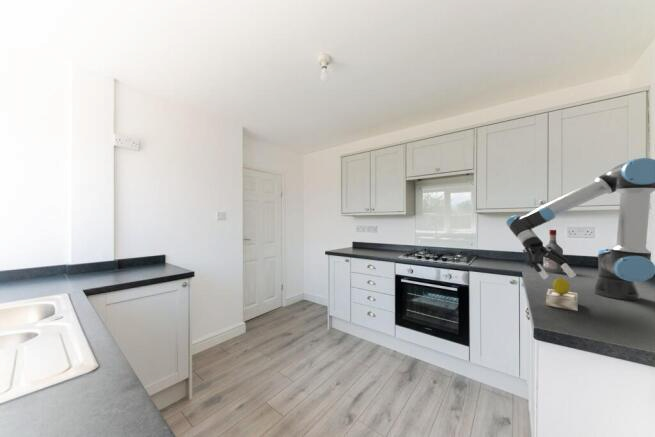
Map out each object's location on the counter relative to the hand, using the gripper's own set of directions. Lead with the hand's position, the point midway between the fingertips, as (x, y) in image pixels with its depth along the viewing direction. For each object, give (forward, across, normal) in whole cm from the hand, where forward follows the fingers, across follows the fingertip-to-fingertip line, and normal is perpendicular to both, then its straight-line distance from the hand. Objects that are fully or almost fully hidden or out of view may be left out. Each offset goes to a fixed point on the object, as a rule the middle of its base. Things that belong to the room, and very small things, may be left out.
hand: (560, 277), depth 115 cm
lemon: (+6, 0, -6) cm, 8 cm away
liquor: (-34, -63, -52) cm, 89 cm away
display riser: (+9, 0, -8) cm, 12 cm away
